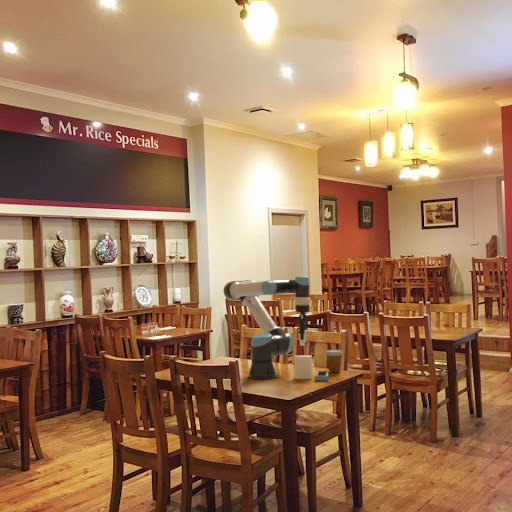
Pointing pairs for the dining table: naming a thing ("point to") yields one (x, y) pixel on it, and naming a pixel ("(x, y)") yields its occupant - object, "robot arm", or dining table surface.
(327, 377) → the track
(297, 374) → the door panel
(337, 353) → the disposable coffee cup
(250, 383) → the dining table surface
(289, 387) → the dining table surface
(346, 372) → the dining table surface
